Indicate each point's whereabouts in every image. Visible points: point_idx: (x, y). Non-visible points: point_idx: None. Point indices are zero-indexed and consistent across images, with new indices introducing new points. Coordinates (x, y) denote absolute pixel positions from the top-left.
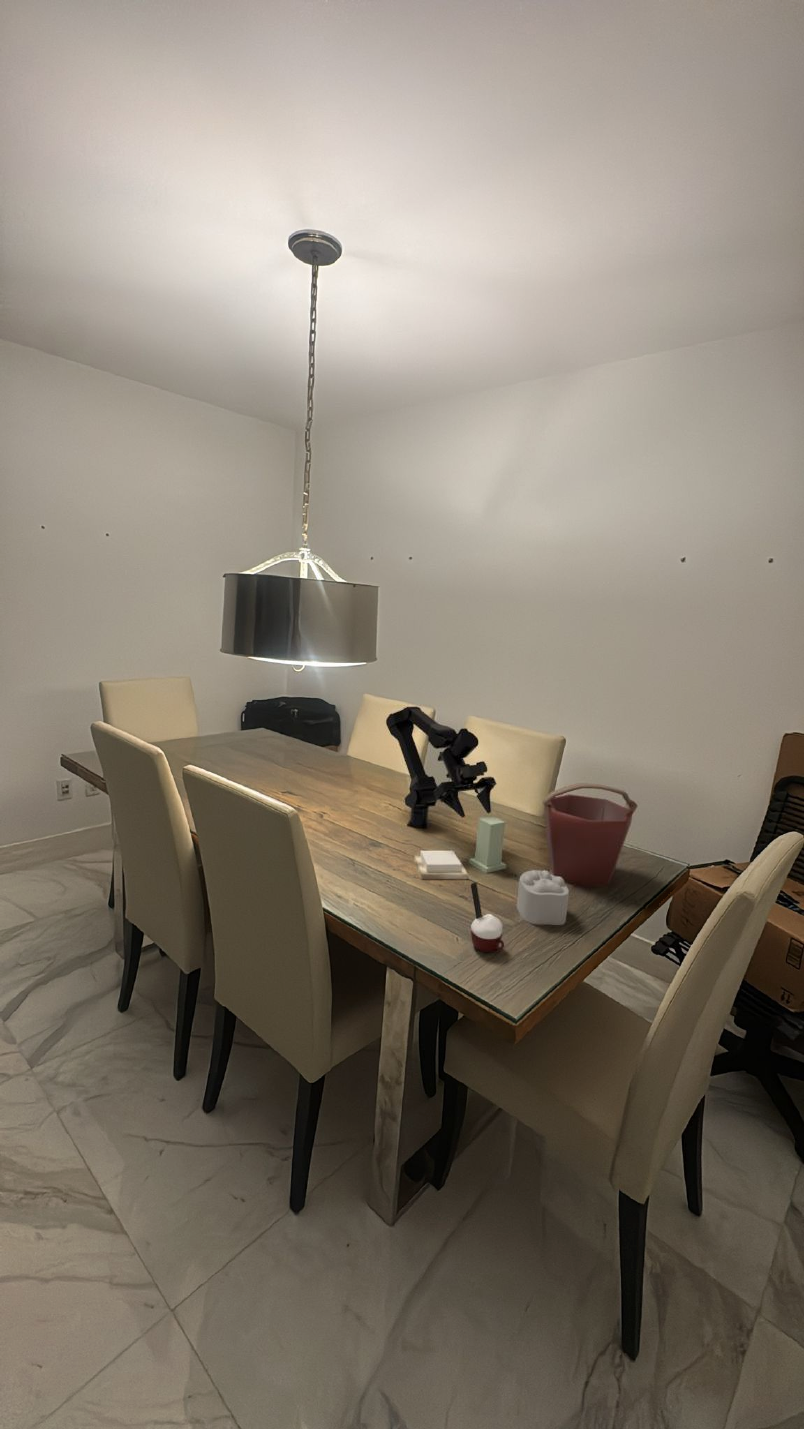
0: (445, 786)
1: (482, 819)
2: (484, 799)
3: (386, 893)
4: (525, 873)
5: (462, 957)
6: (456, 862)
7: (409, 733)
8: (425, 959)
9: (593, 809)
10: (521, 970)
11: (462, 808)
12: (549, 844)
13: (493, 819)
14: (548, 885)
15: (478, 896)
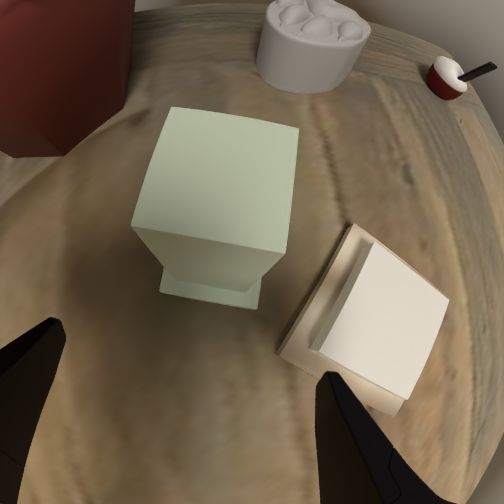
0: None
1: (274, 220)
2: (2, 418)
3: (500, 283)
4: (324, 41)
5: (464, 103)
6: (378, 262)
7: None
8: (493, 131)
9: None
10: (418, 53)
11: (349, 417)
12: (68, 91)
13: (193, 174)
14: (337, 3)
15: (477, 67)
